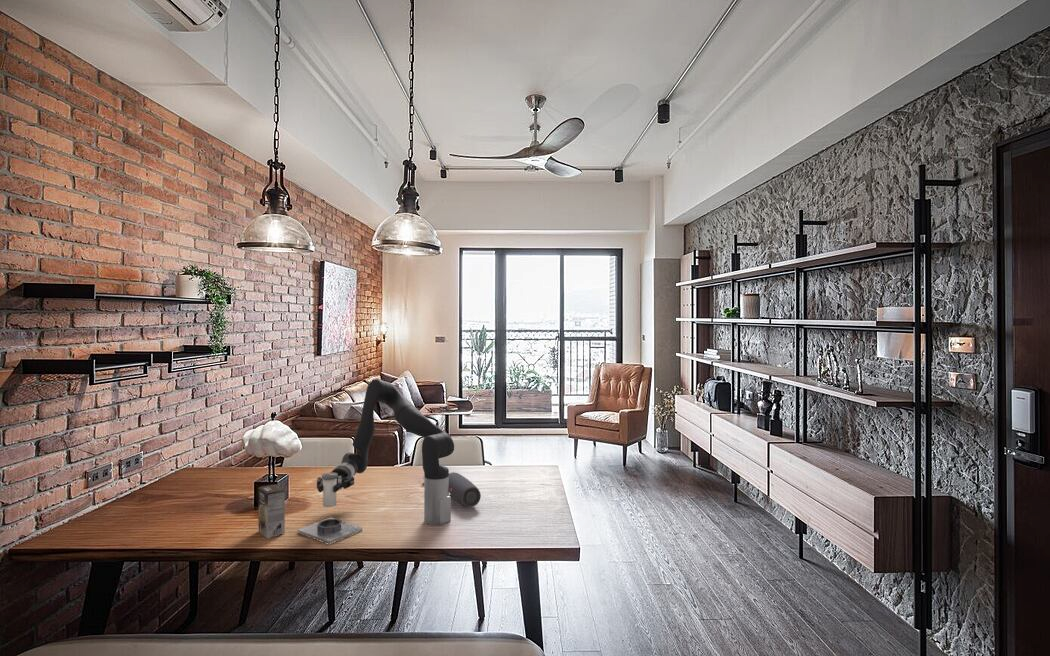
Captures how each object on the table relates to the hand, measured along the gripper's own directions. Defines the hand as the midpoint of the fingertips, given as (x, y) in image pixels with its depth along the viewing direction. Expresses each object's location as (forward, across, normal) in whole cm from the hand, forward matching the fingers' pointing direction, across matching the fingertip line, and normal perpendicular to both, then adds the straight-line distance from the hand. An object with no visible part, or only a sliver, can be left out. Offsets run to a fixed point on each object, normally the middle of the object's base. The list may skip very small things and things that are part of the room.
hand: (327, 489), depth 186 cm
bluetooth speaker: (-33, +45, +17) cm, 58 cm away
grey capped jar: (-3, 0, +6) cm, 7 cm away
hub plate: (-2, 0, +16) cm, 16 cm away
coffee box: (-2, -21, +17) cm, 27 cm away
